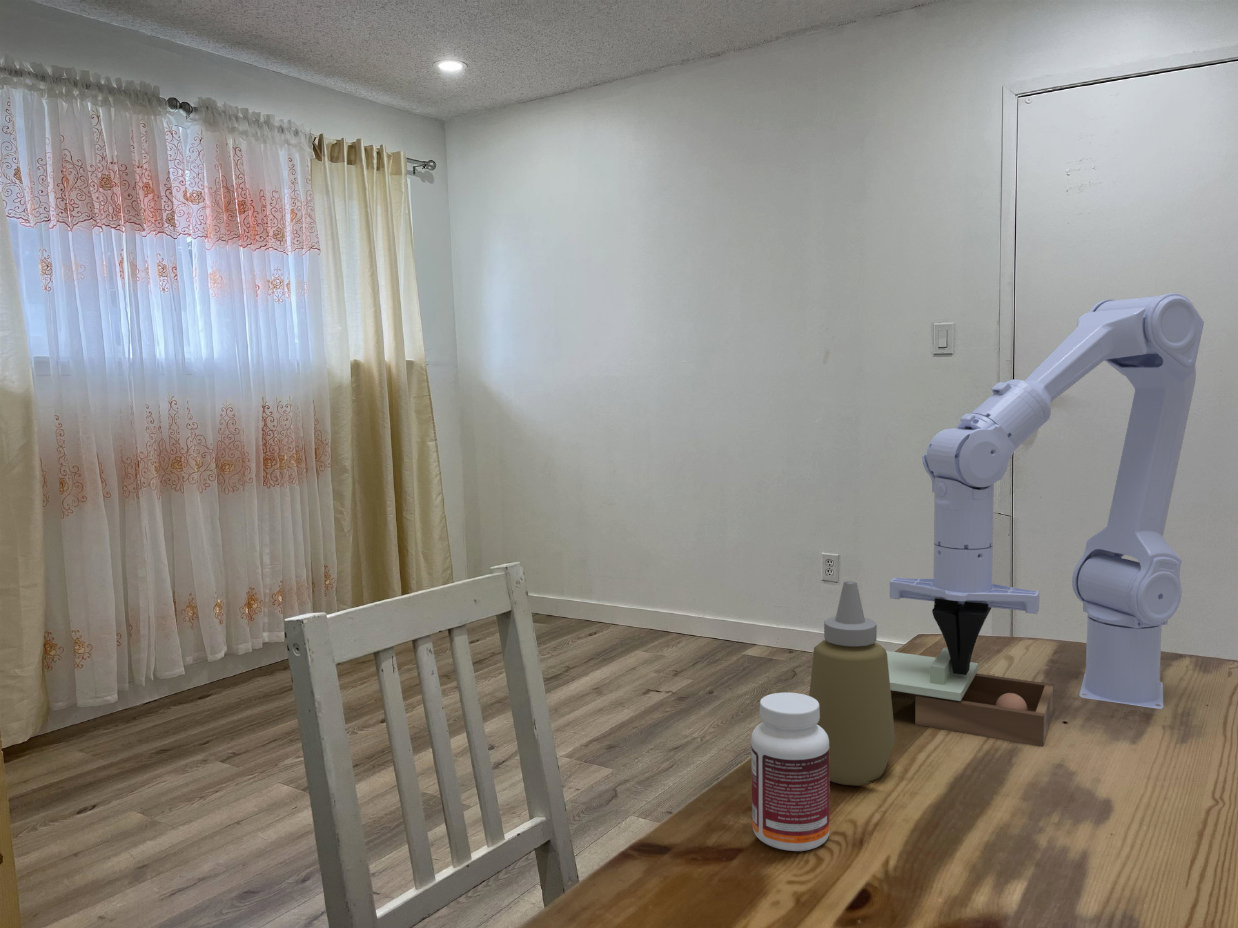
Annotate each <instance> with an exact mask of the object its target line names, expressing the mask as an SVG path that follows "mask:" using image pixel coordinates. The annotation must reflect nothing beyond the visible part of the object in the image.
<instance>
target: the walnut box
mask: <svg viewBox="0 0 1238 928" xmlns="http://www.w3.org/2000/svg"><path fill="white" fill-rule="evenodd" d="M1006 693H1014V694H1017V695H1019V696H1020V697H1021V698H1023V700H1024V701H1025V703H1026V705H1027V711H1025V710H1019V709H1012V708H1006V707H1000V706H996V702H997V700H998V698H999V697H1000V696H1002V695H1003V694H1006ZM1054 700H1055V684H1054V683H1048V682H1040V681H1033V680H1028V679H1027V680H1026V679H1025V680H1024V679H1019V678H1013V677H1004V676H998V675H997V676H996V675H991V674H985V673H983V674H982V673H978V672H977V673H976V675H975V677H974V678H973V680H972V682H971V684H970V685H969V687H968V689H967V691H966V692H965V694H964V696H963V697H962V699H961V701H957V700H951V699H944V698H938V697H932V696H925V695H919V694H915V707H914V708H915V709H914V710H915V711H914V712H915V714H914V715H915V716H914V717H915V718H914V719H915V722H914V723H915V724H914V725H915V726H922V727H924V728H925V727H926V728H931V729H938V730H943V731H948V732H949V731H950V732H955V733H959V734H960V733H961V734H966V735H973V736H978V737H979V736H980V737H984V738H988V739H989V738H990V739H996V740H1002V741H1007V742H1013V743H1018V744H1019V743H1020V744H1025V745H1031V746H1035V747H1044V745H1045V742H1046V738H1047V734H1048V731H1049V729H1050V726H1051V725H1050V724H1051V721H1052V719H1053V716H1054V715H1053V714H1054V702H1055V701H1054Z"/></svg>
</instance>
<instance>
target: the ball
mask: <svg viewBox="0 0 1238 928" xmlns="http://www.w3.org/2000/svg"><path fill="white" fill-rule="evenodd" d="M996 706H1000V707H1006V708H1012V709H1019V710H1025V711H1027V705H1026V703H1025V701H1024V700H1023V698H1021V697H1020V696H1019V695H1017V694H1014V693H1006V694H1003V695H1002V696H1000V697H999V698H998V700H997V702H996Z"/></svg>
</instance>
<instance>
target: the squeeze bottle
mask: <svg viewBox="0 0 1238 928" xmlns="http://www.w3.org/2000/svg"><path fill="white" fill-rule="evenodd" d="M842 583H843V584H842V588H841V592H840V597H839V600H838V601H839V602H838V606H837V610H836V615H835V616H831V617H828V618H826V619H825V620H824V622H823V637H824V638H823V640H822V641H820V642H819V643H818V644H817V645H815V646H814V647H813V654H812V655H813V657H812V665H811V675H810V683H809V693H808V696H810V697H812V698H814V699H816V700H817V701H818V703H819V710H820V719H819V722H818V723H817V725H819V726H820V727H821V728H823V729H824V731H825V732H826V733H827V735H828V738H829V781H830V782H832V783H834V784H835V783H836V784H839V785H844V786H867V785H872V784H874V782H873V781H874V780H877V779H879V778H881V777H882V775H883V774H884V773H885V770H886V767H887V764H888V761H889V759H890V757H891V754H892V751H893V749H894V745H895V743H896V734H895V724H894V723H895V722H894V714H893V713H894V711H893V701H892V692H891V691H892V690H890V679H889V669H888V659H887V653H886V651H887V650H886V649H885V648H884V647H883V646H882V645H881V644H879V643H878V642H877V641H878V640H877V639H878V638H877V637H878V635H877V634H878V633H877V628H878V626H877V623H876V622H875V621H874V620H872V619H871V618H867V617H865V614H864V610H863V605H862V601H861V597H860V592H859V587H858V583H857V582H856V581H844V582H842Z"/></svg>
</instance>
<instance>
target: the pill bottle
mask: <svg viewBox="0 0 1238 928" xmlns="http://www.w3.org/2000/svg"><path fill="white" fill-rule="evenodd" d="M759 717H760V720H761V722H760V723H759V724H758V725H756V727H755V728H754V729H753V731H752V733H751V739H750V740H751V742H750V743H751V744H750V746H751V749H750V750H751V751H750V752H751V753H750V754H751V762H750V763H751V813H752V815H751V818H752V823H751V824H752V830H753V833H754V835H755V836H756V838H758V840H759V841H761V842H762V843H764V845H765V844H766V845H767V846H770V847H771V848H775V849H779V850H782V851H783V850H784V851H791V852H803V851H804V852H805V851H809V850H812V849H815V848H818V847H820V846H821V845H823V844H824V843H826V841H827V840H828V837H829V836H830V832H831V831H830V828H831V822H830V821H831V820H830V819H831V817H830V816H831V815H830V814H831V811H830V809H831V808H830V805H831V804H830V802H831V800H830V799H831V798H830V797H831V796H830V795H831V794H830V792H831V791H830V790H831V789H830V782H831V781H830V780H829V738H828V735H827V733H826V732H825V731H824V729H823V728H821V727H820V726H819V725H817V723H818V722H819V719H820V710H819V703H818V701H817V700H816V699H814V698H812V697H810V696H809V695H807V694H804V693H799V692H798V693H796V692H775V693H770V694H767V695H765V696H763V697H762V698H761V699H760V702H759Z"/></svg>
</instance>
